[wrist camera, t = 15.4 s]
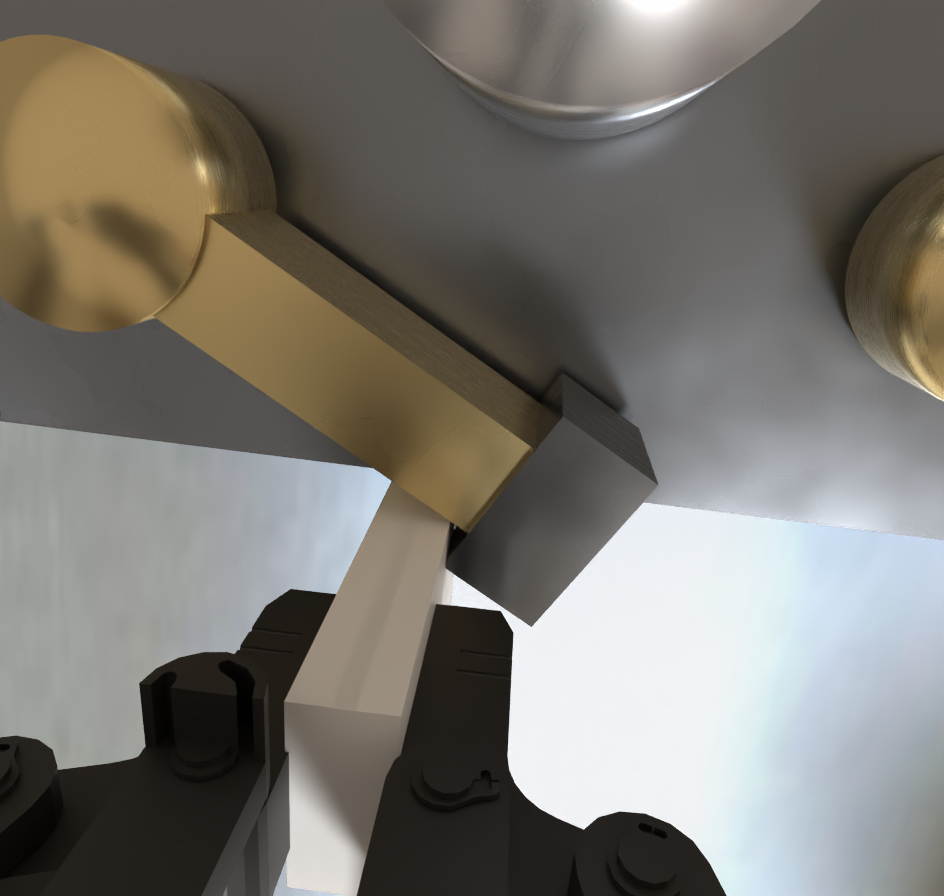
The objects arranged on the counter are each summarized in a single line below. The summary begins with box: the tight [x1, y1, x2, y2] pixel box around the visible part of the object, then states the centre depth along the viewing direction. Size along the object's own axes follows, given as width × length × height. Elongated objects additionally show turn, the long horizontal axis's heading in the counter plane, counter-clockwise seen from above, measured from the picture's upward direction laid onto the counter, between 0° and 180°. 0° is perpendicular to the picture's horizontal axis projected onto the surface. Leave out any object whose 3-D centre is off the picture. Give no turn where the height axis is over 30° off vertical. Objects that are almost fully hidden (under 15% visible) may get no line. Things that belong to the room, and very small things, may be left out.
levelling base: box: [0, 0, 944, 540], centre depth 10 cm, size 24×14×8 cm, turn 85°
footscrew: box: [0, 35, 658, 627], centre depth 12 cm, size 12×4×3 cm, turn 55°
